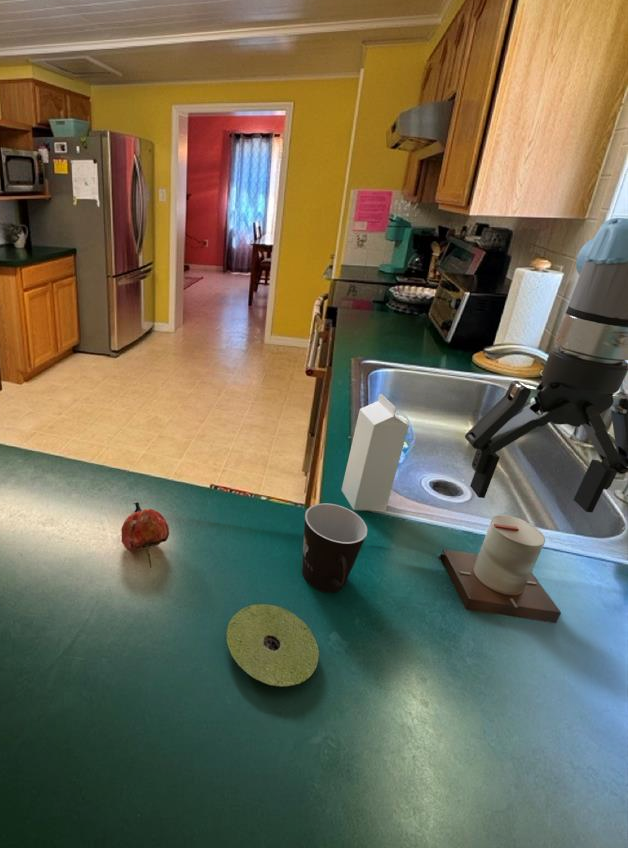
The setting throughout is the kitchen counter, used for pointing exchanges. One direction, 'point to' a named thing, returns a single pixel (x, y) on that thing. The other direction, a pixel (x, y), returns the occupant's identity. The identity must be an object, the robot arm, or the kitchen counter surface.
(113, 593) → the kitchen counter surface
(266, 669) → the green disc with hole
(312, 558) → the coffee mug
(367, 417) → the milk
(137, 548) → the pomegranate
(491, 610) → the brown dial base
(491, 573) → the cream knob
